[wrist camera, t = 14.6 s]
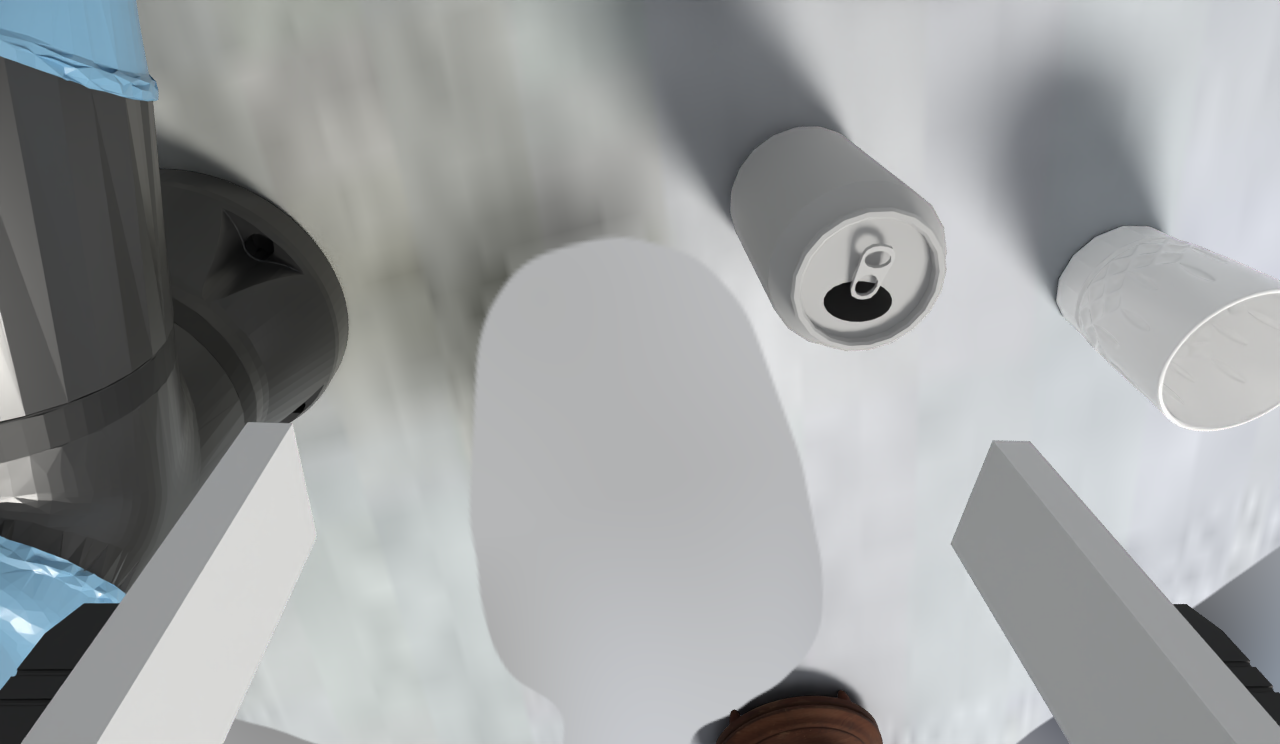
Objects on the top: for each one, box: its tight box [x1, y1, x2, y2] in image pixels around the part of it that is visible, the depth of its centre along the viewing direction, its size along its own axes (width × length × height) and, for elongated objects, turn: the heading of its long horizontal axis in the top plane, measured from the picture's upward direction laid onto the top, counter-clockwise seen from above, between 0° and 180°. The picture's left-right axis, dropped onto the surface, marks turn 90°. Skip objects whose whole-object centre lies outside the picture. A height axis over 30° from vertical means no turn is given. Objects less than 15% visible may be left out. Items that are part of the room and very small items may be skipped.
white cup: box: [1056, 226, 1280, 431], centre depth 38 cm, size 8×8×10 cm
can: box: [730, 126, 947, 351], centre depth 33 cm, size 8×8×12 cm
